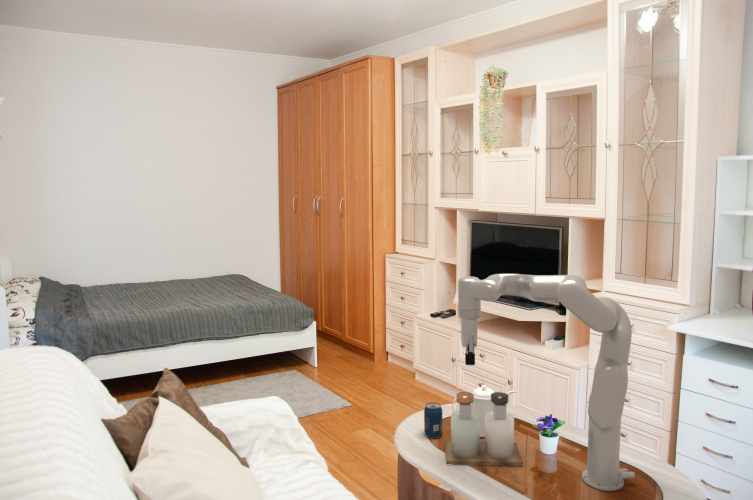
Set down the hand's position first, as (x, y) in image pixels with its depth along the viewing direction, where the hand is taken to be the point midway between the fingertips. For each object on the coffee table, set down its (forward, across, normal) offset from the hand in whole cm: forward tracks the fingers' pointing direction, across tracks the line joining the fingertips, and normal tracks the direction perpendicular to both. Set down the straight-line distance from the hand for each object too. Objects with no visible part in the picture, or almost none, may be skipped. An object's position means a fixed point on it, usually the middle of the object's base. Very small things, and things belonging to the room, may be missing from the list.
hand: (470, 364), depth 193 cm
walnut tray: (+34, -1, +4) cm, 34 cm away
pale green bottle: (+33, -1, -2) cm, 33 cm away
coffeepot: (+34, -19, +7) cm, 40 cm away
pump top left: (+20, -1, +10) cm, 22 cm away
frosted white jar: (+33, -1, +10) cm, 34 cm away
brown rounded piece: (+19, -1, -2) cm, 20 cm away
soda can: (+34, -16, -13) cm, 40 cm away
